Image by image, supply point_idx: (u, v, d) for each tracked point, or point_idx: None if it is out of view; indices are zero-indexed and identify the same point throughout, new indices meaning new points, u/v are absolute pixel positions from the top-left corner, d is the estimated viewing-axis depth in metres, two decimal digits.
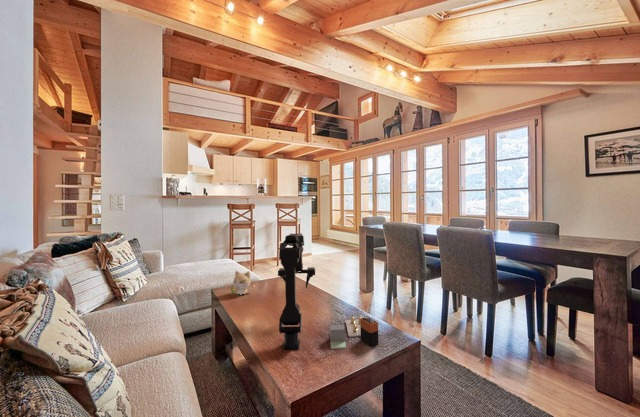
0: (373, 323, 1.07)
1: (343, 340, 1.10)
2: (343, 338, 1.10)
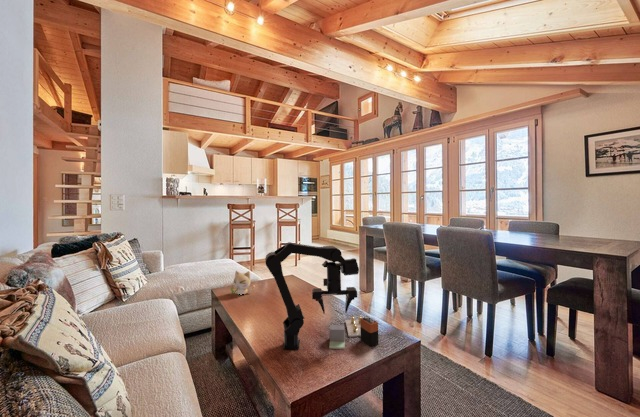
0: (373, 323, 1.07)
1: (343, 340, 1.10)
2: (343, 338, 1.10)
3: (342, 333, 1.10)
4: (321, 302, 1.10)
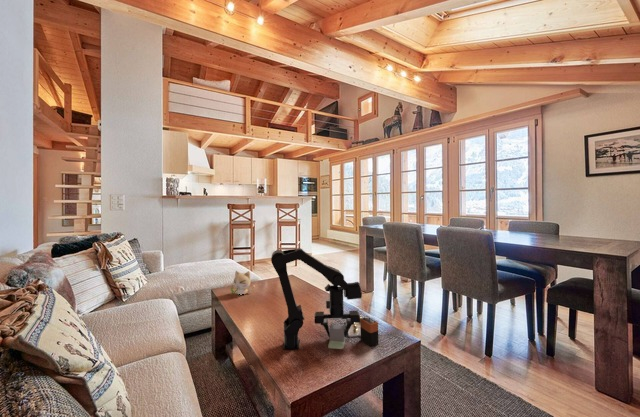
0: (373, 323, 1.07)
1: (342, 340, 1.09)
2: (342, 338, 1.09)
3: (342, 333, 1.09)
4: (326, 326, 1.09)
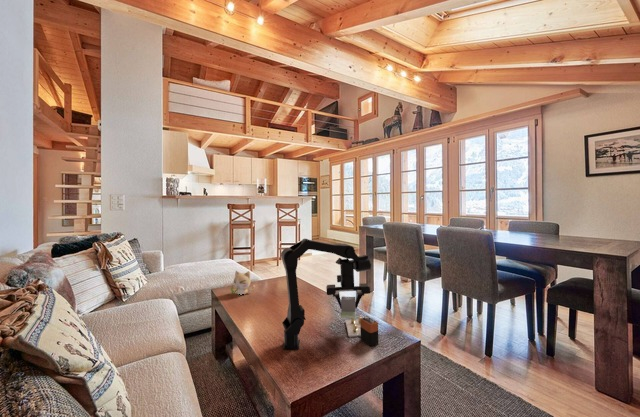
0: (373, 323, 1.07)
1: (353, 310, 1.14)
2: (353, 308, 1.14)
3: (353, 303, 1.14)
4: (338, 298, 1.14)
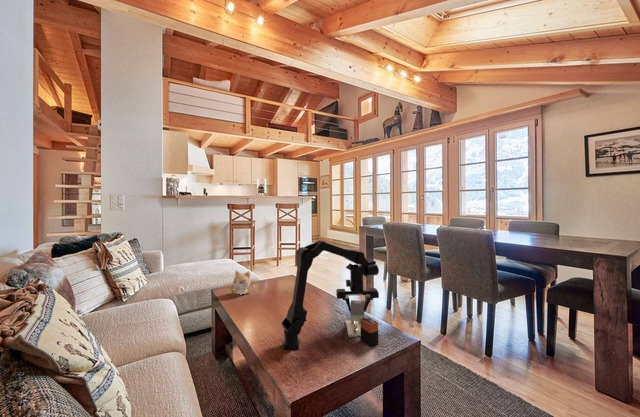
0: (373, 323, 1.07)
1: (362, 314, 1.19)
2: (362, 312, 1.19)
3: (362, 307, 1.19)
4: (348, 301, 1.19)
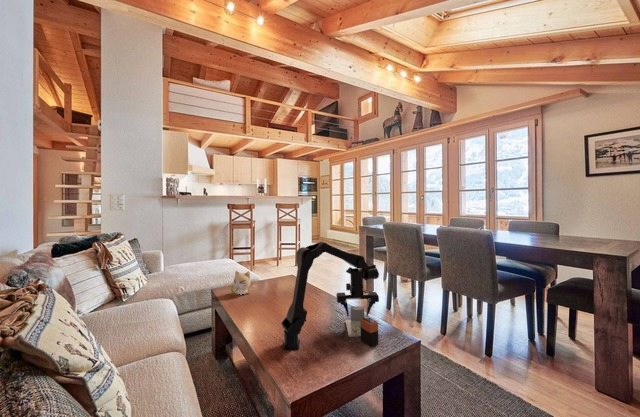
0: (373, 323, 1.07)
1: None
2: None
3: (362, 313, 1.19)
4: (346, 305, 1.19)
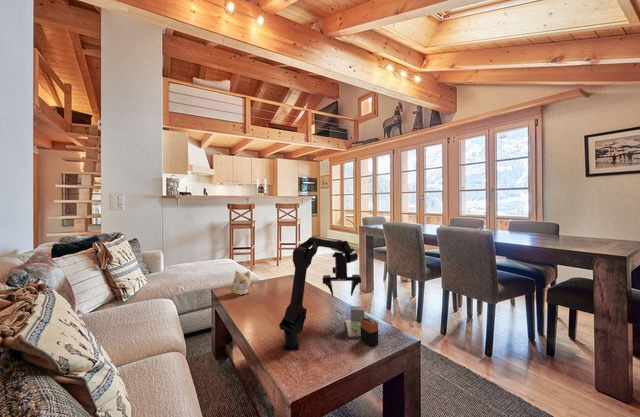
0: (373, 323, 1.07)
1: None
2: None
3: (362, 313, 1.19)
4: (330, 286, 1.30)
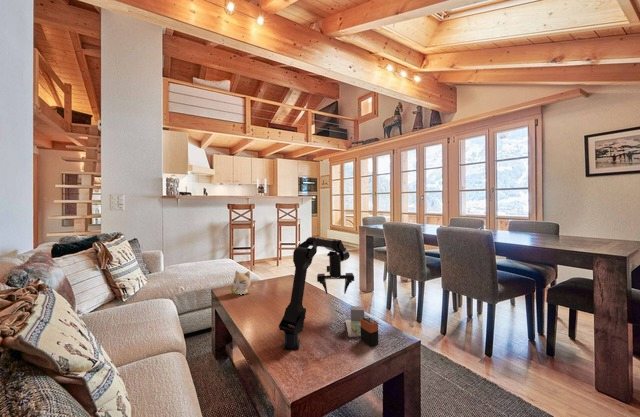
0: (373, 323, 1.07)
1: None
2: None
3: (362, 313, 1.19)
4: (324, 284, 1.34)
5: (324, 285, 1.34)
